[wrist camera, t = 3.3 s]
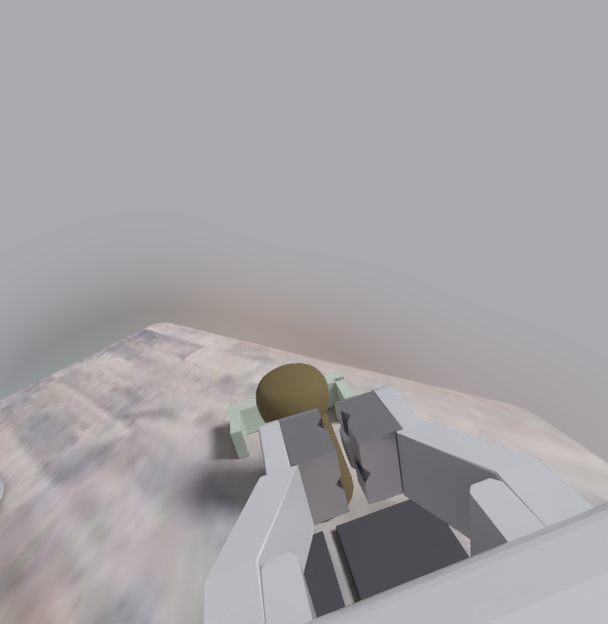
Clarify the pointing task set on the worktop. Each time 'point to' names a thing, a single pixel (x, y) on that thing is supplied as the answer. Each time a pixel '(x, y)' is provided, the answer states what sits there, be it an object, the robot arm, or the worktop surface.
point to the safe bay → (249, 419)
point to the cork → (299, 403)
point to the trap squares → (381, 553)
